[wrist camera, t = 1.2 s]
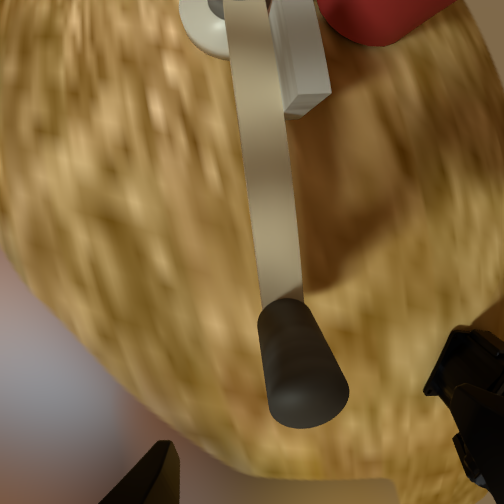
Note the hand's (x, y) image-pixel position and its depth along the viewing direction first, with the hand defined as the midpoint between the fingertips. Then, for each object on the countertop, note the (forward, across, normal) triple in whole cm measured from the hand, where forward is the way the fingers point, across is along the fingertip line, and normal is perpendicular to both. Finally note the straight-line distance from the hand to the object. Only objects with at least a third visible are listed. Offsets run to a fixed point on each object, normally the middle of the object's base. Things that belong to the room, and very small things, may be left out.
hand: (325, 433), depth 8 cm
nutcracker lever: (+11, 0, -9) cm, 14 cm away
